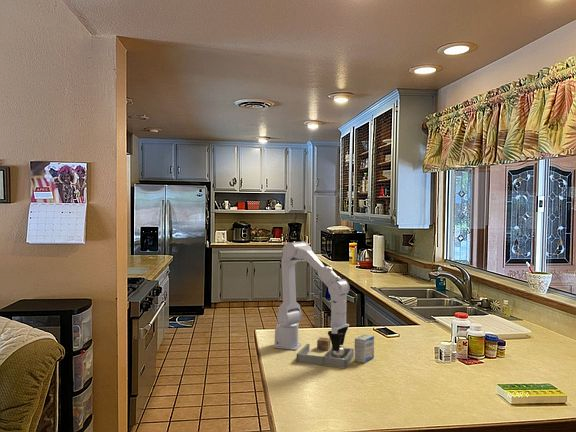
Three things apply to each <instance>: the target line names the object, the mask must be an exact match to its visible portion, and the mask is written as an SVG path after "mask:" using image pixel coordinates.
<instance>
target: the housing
mask: <svg viewBox="0 0 576 432" xmlns="http://www.w3.org/2000/svg"><path fill="white" fill-rule="evenodd" d="M308 353H310V343H306V344H305V345H304V346H303V347H302V348H301V349H300V350H299V351H298V352H297V353H296V363H301V364H309V365H316V366H323V367H324V366H325V367H327V366H328V367H332V368H333V367H334V368H342V369H347V368H348V367H349V365H350V363H351V362H352V360H353V358H355V348H350V347H344V359H341V358H333V348H332V346H330V349H329V350H328V351H326V353H325V354H324V355H323V356H322V355H314V354H308Z"/></svg>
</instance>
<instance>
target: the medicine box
mask: <svg viewBox="0 0 576 432" xmlns="http://www.w3.org/2000/svg"><path fill="white" fill-rule="evenodd" d="M374 358H375V336H374V335H371V334H367V333H366V334H362V335H361V336H358V337H355V339H354V361H355V362H358V363H363V364H366V363H367V362H369V361H370V360H372V359H374Z"/></svg>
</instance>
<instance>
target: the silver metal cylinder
mask: <svg viewBox="0 0 576 432" xmlns="http://www.w3.org/2000/svg"><path fill="white" fill-rule="evenodd" d="M344 348H345V347H344V346H343V345H340V348H339V351H333V355H332V357H333V358H341V359H345V356H344Z"/></svg>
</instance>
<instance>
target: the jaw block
mask: <svg viewBox="0 0 576 432" xmlns="http://www.w3.org/2000/svg"><path fill="white" fill-rule="evenodd" d="M330 348H331V340H330V337H321V336H320V337H319V338H318V339H317V340H316V350H318V351H326V352H328V350H329V349H330Z"/></svg>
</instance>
